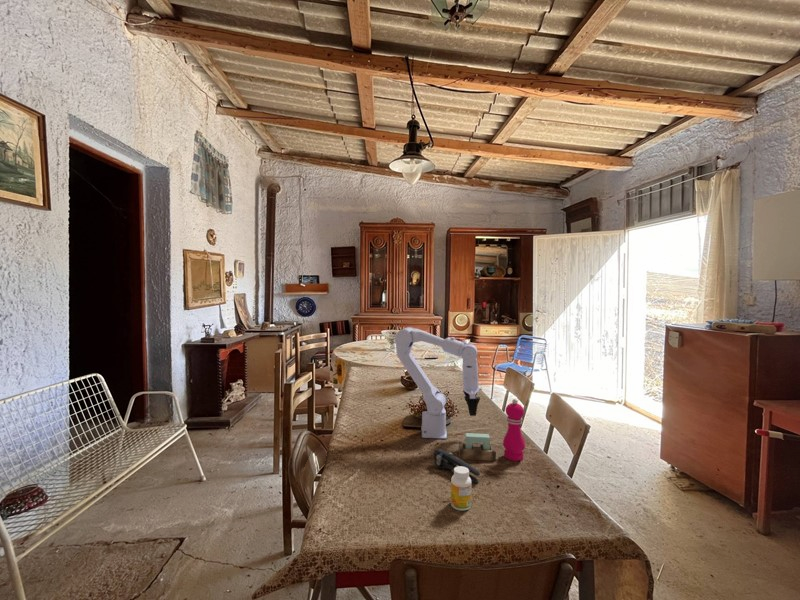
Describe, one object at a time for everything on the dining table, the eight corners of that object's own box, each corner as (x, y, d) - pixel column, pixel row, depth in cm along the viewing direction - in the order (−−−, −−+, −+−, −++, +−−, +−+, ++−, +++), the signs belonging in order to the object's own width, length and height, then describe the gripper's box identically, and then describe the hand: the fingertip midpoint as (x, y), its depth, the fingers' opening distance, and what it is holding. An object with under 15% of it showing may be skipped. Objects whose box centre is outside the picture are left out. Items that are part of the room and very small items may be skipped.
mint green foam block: (465, 456, 128) (466, 436, 128) (465, 452, 131) (465, 432, 131) (489, 457, 127) (489, 437, 127) (488, 453, 130) (488, 434, 130)
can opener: (428, 465, 122) (428, 448, 122) (443, 459, 127) (443, 442, 126) (470, 488, 108) (471, 469, 108) (485, 481, 113) (486, 462, 113)
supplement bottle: (448, 499, 103) (449, 465, 102) (468, 498, 103) (468, 464, 103) (453, 511, 97) (453, 475, 97) (473, 510, 98) (474, 474, 97)
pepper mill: (524, 453, 131) (526, 397, 130) (524, 463, 124) (526, 403, 123) (503, 450, 133) (504, 395, 132) (502, 459, 126) (503, 401, 125)
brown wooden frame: (459, 458, 127) (459, 449, 126) (458, 450, 133) (458, 441, 133) (495, 460, 125) (495, 451, 125) (493, 452, 132) (493, 443, 132)
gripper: (483, 381, 134) (484, 418, 135) (479, 371, 149) (480, 405, 149) (463, 381, 135) (465, 418, 135) (461, 372, 149) (462, 406, 150)
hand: (472, 412), depth 142 cm, fingers open, 7 cm apart
